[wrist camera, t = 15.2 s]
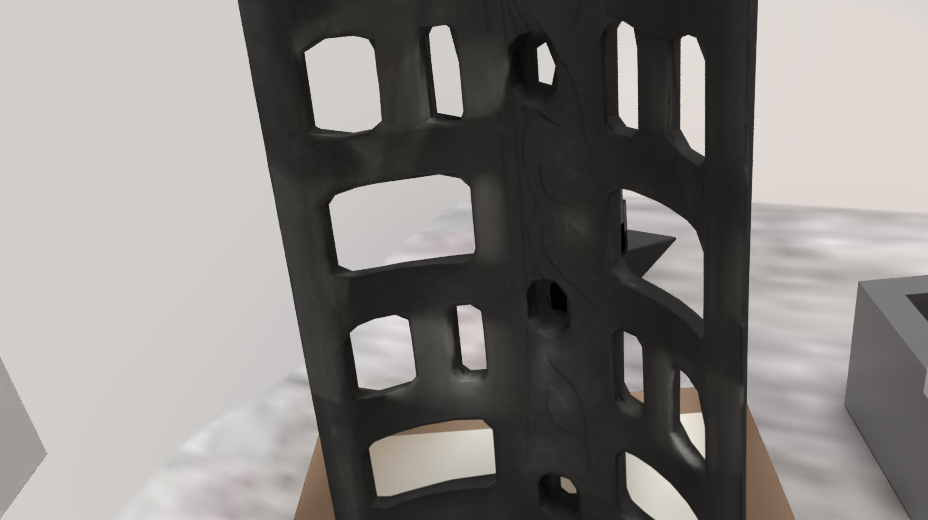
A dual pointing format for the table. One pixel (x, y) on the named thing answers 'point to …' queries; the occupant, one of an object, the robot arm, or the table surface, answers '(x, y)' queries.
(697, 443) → the board
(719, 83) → the holder
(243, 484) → the table surface
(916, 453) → the button housing
